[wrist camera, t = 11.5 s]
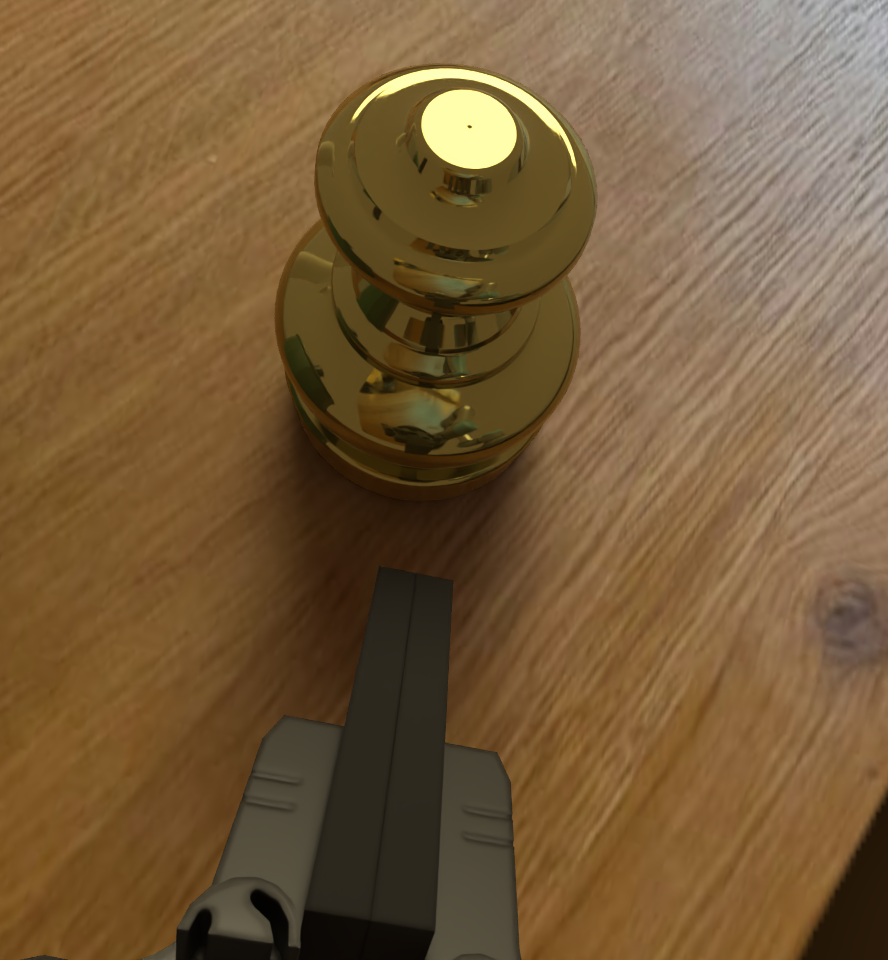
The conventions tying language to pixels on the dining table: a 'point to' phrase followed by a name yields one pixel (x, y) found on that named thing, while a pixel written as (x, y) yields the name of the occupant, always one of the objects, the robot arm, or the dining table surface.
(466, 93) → the brass calibration weight
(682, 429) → the dining table surface
